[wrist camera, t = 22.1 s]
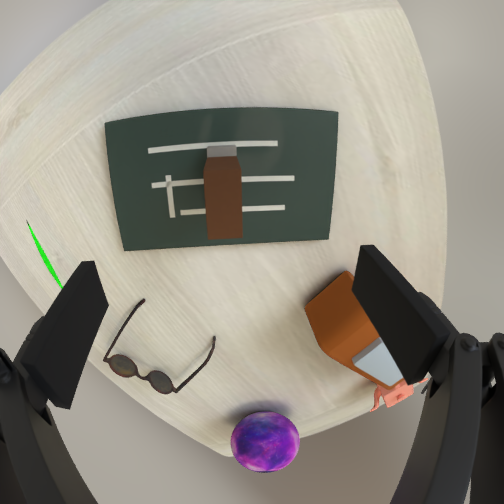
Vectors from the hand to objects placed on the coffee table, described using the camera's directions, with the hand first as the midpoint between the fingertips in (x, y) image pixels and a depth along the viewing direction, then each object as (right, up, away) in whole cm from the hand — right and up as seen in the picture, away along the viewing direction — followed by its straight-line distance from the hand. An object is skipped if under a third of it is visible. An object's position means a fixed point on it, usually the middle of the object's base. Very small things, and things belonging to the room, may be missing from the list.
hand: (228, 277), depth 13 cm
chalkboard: (-2, +10, +18) cm, 21 cm away
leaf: (-30, 0, +20) cm, 36 cm away
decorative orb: (+3, -37, +44) cm, 57 cm away
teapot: (+33, -27, +42) cm, 60 cm away
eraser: (-2, +9, +17) cm, 19 cm away
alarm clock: (+20, -10, +32) cm, 39 cm away
